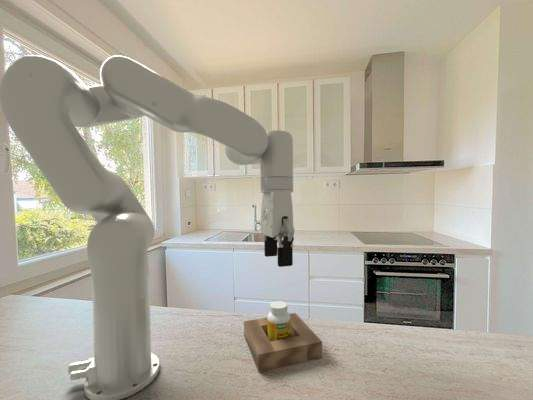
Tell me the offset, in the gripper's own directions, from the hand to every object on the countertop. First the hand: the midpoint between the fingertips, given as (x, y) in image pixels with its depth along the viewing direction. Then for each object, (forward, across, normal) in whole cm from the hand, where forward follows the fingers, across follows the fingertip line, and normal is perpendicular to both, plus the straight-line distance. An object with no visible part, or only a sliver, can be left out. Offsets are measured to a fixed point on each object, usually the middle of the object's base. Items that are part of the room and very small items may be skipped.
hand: (277, 260), depth 57 cm
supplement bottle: (+20, 0, 0) cm, 20 cm away
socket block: (+20, 0, 0) cm, 20 cm away
